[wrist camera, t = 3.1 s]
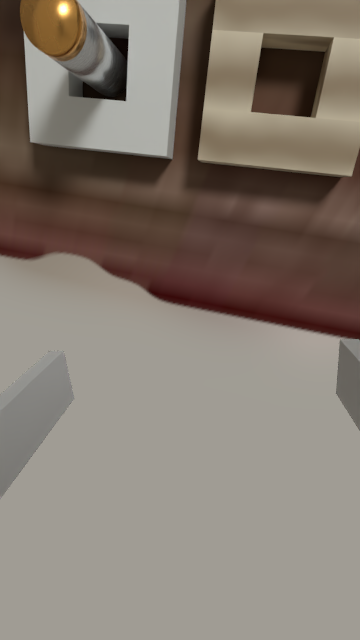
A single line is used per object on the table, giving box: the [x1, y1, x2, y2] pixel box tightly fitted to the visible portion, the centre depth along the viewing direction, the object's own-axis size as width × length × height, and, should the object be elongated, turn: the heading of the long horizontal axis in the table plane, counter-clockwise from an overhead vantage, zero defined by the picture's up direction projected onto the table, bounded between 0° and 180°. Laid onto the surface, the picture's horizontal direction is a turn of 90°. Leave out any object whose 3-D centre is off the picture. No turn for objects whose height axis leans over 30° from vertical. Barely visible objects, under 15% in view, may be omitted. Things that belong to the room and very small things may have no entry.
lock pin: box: [20, 0, 128, 97], centre depth 27 cm, size 4×4×12 cm
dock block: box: [198, 0, 360, 177], centre depth 29 cm, size 14×14×3 cm
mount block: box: [24, 0, 186, 159], centre depth 31 cm, size 14×14×3 cm
